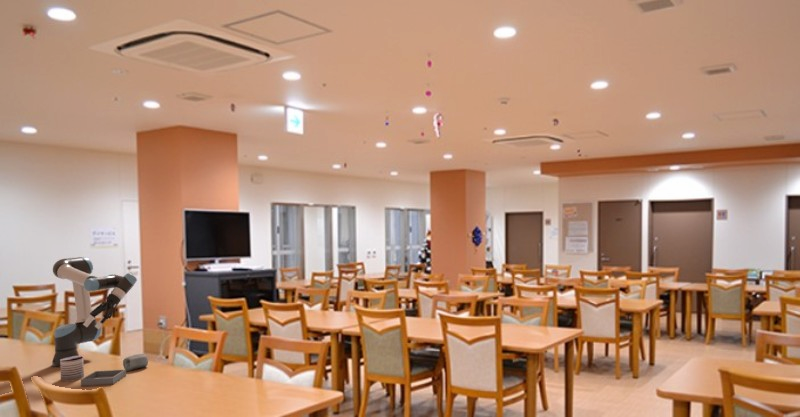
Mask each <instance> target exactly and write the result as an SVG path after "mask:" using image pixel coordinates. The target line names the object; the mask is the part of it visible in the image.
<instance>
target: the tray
mask: <svg viewBox="0 0 800 417" xmlns="http://www.w3.org/2000/svg"><path fill="white" fill-rule="evenodd" d="M126 376H127V371H126V370H125V369H113V370H95V371H93V372H92V373H89V374H88V375H86V376H84V377H83V378H82V379H80V387H91V386H110V385H109V384H113V385H115V384H116V383H117V381H118V382H120V381H121V380H122V379H123V377H124V378H125V377H126ZM120 379H121V380H120Z"/></svg>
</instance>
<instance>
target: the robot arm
mask: <svg viewBox="0 0 800 417" xmlns="http://www.w3.org/2000/svg"><path fill="white" fill-rule="evenodd" d="M52 266H53V267H52V273H53V274H54V276H55V277H56V278H59V279H61V280H68V281H71V282H72V287H73V288H72V289H73V295H74V296H73V297H74V303H75V310H76V321H75V322H74V323H67V324H63V325H60V326H58V327H56V328H55V329H54V333H53V334H54V335H53V337H54V355H53V359H52V362H51V366H52V367H54V368H55V367H57V368H58V367H60V360H61V359H64V358H68V357H72V356H80V353H79V352H78V346H77V345H79V344H84V343H88V342H89V343H90V342H92V341H96V340H98V339H99V337H100V336H101V334H102V326H103V324H104V323H105V322H106V321H107V320H109V319H111V318H112V316H113V314H114V312H115V310H116V308H117V307H118V305H119V304H120V303H121V301H122V300H123V298H125V297H126V295H127V294H128V293H129V292H130V291H131V290H132V288H133V287H134V286H135V284H137V281H138V278H137V277H136V276H135V275H133V274H132V273H126V274H124V276H121V275H119V274H118V275H117V274H115V273H114V274H111V273H110V274H109V275H105V276H95V275H92V274H93V270H94V267H93V266H94V265H93V262H92V261H91V260H90V259H89V258H88V257H84V256H83V257H82V256H78V257H69V258H62V259H58V260H57V261H56V262H55V263H54V264H53V265H52ZM108 289H109V290H110V289H112V290H111V291H110V293H108V295H107V296H106V297H105V300H106V301H105V302H104V301H102V302H101V303H100V304H99V305H98V306H97V307H96V308H94V309H92V301H91V296H90V295H91V294H90V292H96V291H102V290H108ZM103 312H104V314H103V316H102V317H101V318H100V319H99V320H98V321H96V317H97V316H98V315H100V314H101V313H103Z"/></svg>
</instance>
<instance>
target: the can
mask: <svg viewBox="0 0 800 417" xmlns="http://www.w3.org/2000/svg"><path fill="white" fill-rule="evenodd" d="M84 366H85V365H84V356H83V354H81V355H80V354H79V356H72V357H68V358H64V359H61V360H60V381H62V382H72V381H74V382H75V381H77V380H81V379H83V378H85V370H84V369H85V368H84Z"/></svg>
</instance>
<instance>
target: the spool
mask: <svg viewBox="0 0 800 417" xmlns="http://www.w3.org/2000/svg"><path fill="white" fill-rule="evenodd" d="M148 364H149V359H148V356H147V355H146V354H145V353H138V354H133V355H130V356H127V357H125V358H123V361H122V365H123V368H124V369H123V370H126V372H130V371H133V370H137V369H142V368H146V367H147V366H148Z"/></svg>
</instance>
